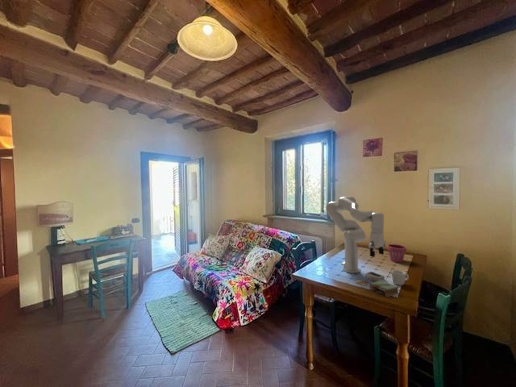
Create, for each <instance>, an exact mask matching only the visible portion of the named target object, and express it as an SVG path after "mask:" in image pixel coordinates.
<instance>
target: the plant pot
mask: <svg viewBox="0 0 516 387" xmlns="http://www.w3.org/2000/svg"><path fill="white" fill-rule="evenodd" d="M386 250H387V251H388V254H389V258H390V261H392V262H396V263H403V261H404V259H405V255H406V254H405V253H407V246H405V245H402V244H396V243H393V244H391V243H390V244H387V248H386Z"/></svg>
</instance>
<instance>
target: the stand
mask: <svg viewBox="0 0 516 387" xmlns="http://www.w3.org/2000/svg"><path fill="white" fill-rule="evenodd" d="M369 288H370V289H369V290H370V291H376V290H381V291H383V292H384V296H385V297H387V298H390V297H392V296H394V295H396V294H399V292H398V291H399V287H398V286H397V285H394V284H393V283H389V282H387V281H385V282H384V281H381V280H378V281H375V282H371V283H369Z"/></svg>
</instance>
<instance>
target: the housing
mask: <svg viewBox="0 0 516 387" xmlns="http://www.w3.org/2000/svg"><path fill="white" fill-rule="evenodd" d="M385 278H386V277H385V275H382V274H380V273H376V272H374V271H368V272H365V281H367V282H371V283H372V282H375V281H378V280H381V281H384V282H386V281H385Z"/></svg>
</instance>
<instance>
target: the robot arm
mask: <svg viewBox="0 0 516 387" xmlns="http://www.w3.org/2000/svg"><path fill="white" fill-rule="evenodd" d="M325 208H326V213H327V215H328V216H329V218H330V219H331V220H332V221H333V222H334V224H335V226H337V228H338V230H340V232H341V233H343V234H342V235H343V237H342V238H343V241H344V242H343V243H344V261H342V262H341V265H342V266H343V267H342V270H343V271H344V272H346V273H350V274H358V273H360V272H361V268H359V248H358V245H357V243H359V242H364V241H365V240H366V237H367V236H366V233H365V230H364V229H363V228H362V227H361V225H360V224H359V223H358V222H360V223H368V222H371V223H370V224H371V226H370V234H369V241H368V245H367V246H368V249H369V256H370V257H373V258H375V256H376V251H375V250H376V249H378V254H379V255H382V256H383V255H384V253H385V252H384V251H385V250H384V249H385V246H386V241H385V235H384V232H385V229H384V224H385V220H384V219H385V215H384V213H382V212H376V211H373V210H365V211H363V210H362V211H361V210H359V204H358V202H357V200H356V198H355V197H354V196H341V197H339V198H338V200H337V201H330V202H328V203H327V204H326V207H325ZM342 211H343V212H344V211H347V212H349V214H350V216H351V217H352V218H353V219H346V218H345V217H344V216H343V215H342V213H340V212H342ZM357 221H358V222H357Z"/></svg>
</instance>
